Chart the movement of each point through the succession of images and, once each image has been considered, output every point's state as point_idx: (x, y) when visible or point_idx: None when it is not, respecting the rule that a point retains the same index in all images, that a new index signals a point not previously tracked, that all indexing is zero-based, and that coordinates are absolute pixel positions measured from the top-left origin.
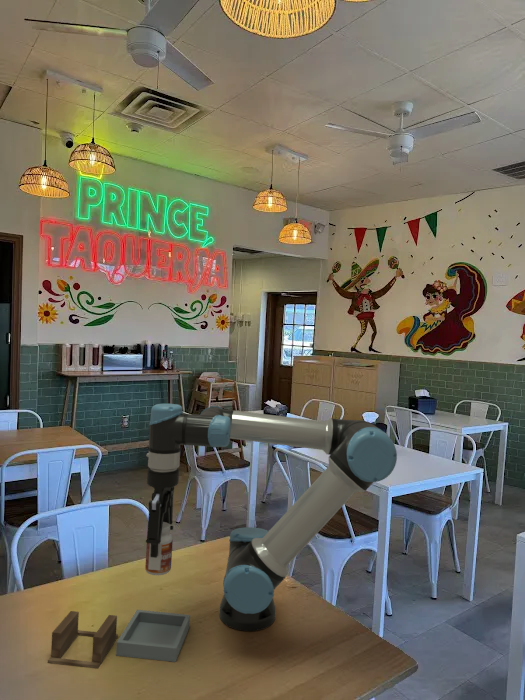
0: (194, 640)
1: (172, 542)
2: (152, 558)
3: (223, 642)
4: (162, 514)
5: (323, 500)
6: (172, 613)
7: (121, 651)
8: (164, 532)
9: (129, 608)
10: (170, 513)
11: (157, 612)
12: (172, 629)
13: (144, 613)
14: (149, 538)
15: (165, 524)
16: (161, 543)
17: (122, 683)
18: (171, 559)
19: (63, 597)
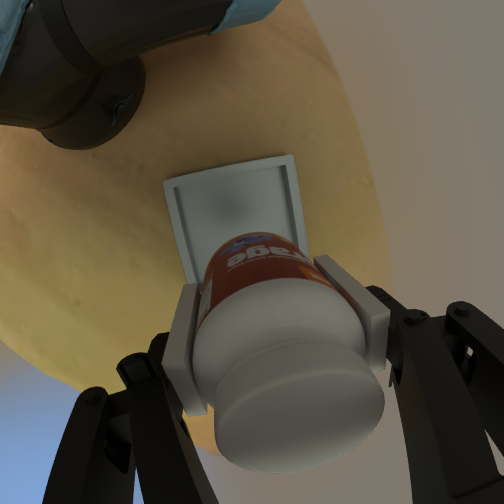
0: (208, 148)
1: (247, 278)
2: None
3: (193, 92)
4: (495, 467)
5: None
6: (172, 222)
7: None
8: (355, 355)
9: (162, 324)
10: (94, 464)
11: (183, 256)
12: (197, 206)
13: (196, 281)
14: (460, 360)
15: (271, 420)
16: (372, 310)
17: (361, 218)
18: (243, 245)
19: (191, 418)
